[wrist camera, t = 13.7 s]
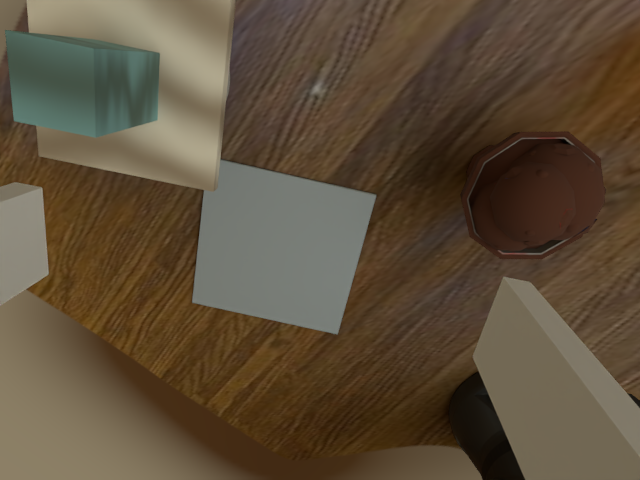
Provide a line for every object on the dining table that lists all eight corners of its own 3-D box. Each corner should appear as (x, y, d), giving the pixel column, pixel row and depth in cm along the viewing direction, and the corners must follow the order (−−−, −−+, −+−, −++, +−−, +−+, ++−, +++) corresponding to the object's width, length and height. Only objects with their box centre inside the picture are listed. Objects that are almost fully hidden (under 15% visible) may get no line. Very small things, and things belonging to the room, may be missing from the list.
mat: (337, 332, 51) (337, 334, 50) (193, 300, 50) (192, 302, 50) (376, 194, 44) (376, 195, 43) (208, 156, 43) (207, 157, 43)
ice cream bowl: (454, 235, 45) (500, 309, 31) (429, 135, 41) (470, 170, 27) (556, 206, 43) (654, 272, 29) (541, 99, 39) (644, 117, 25)
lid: (217, 188, 36) (172, 229, 27) (48, 153, 36) (-55, 183, 27) (236, -6, 31) (187, -37, 21) (34, -49, 30) (-104, -99, 21)
